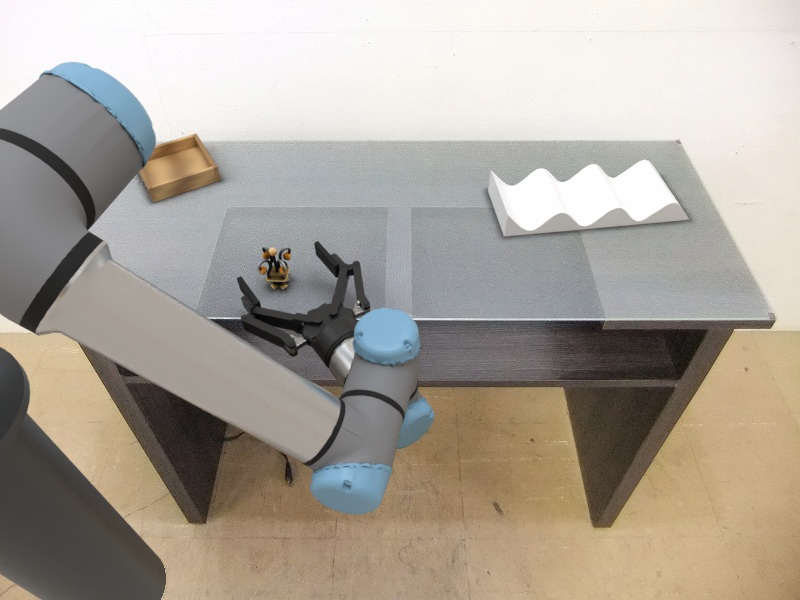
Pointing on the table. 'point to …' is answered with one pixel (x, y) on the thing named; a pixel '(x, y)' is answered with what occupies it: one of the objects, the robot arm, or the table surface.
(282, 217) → the table surface
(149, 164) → the tray
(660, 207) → the white wavy block
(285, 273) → the gold potted plant ornament
